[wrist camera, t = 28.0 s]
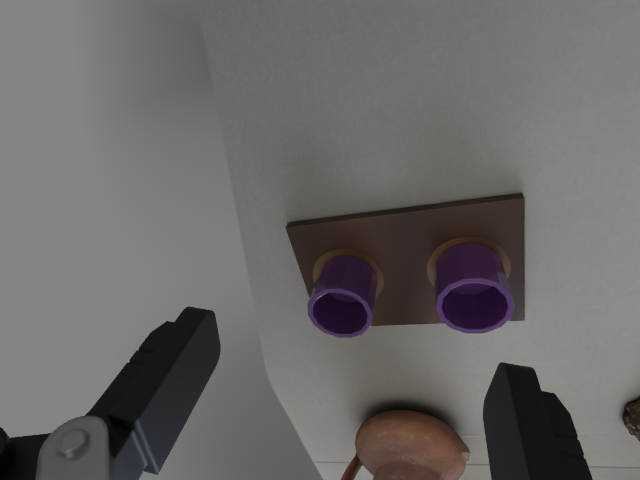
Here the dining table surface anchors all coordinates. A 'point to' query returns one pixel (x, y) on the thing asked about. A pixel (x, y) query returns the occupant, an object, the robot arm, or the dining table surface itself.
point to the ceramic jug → (408, 448)
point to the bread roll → (632, 418)
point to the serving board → (414, 250)
